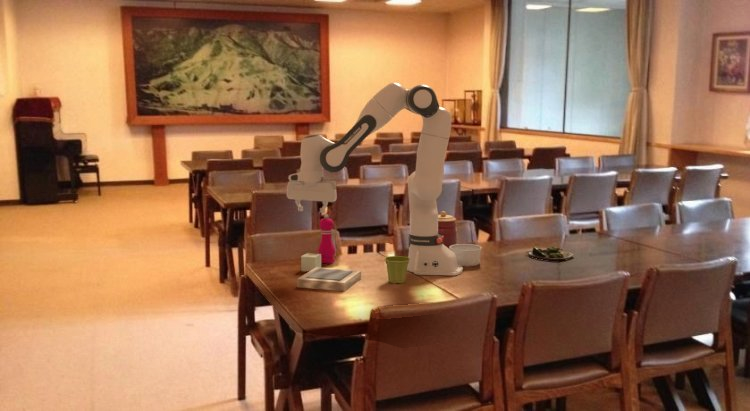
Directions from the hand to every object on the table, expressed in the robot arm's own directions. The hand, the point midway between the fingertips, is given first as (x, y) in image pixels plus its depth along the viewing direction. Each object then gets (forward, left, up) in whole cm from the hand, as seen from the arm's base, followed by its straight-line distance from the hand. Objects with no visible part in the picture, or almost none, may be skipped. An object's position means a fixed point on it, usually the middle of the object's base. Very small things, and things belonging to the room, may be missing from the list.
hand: (311, 211), depth 264 cm
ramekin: (-56, -28, -23) cm, 67 cm away
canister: (-42, -50, -23) cm, 70 cm away
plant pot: (-37, +8, -23) cm, 44 cm away
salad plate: (-88, -51, -24) cm, 104 cm away
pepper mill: (-1, -13, -23) cm, 27 cm away
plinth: (-14, +17, -23) cm, 32 cm away
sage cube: (0, +1, -23) cm, 23 cm away
